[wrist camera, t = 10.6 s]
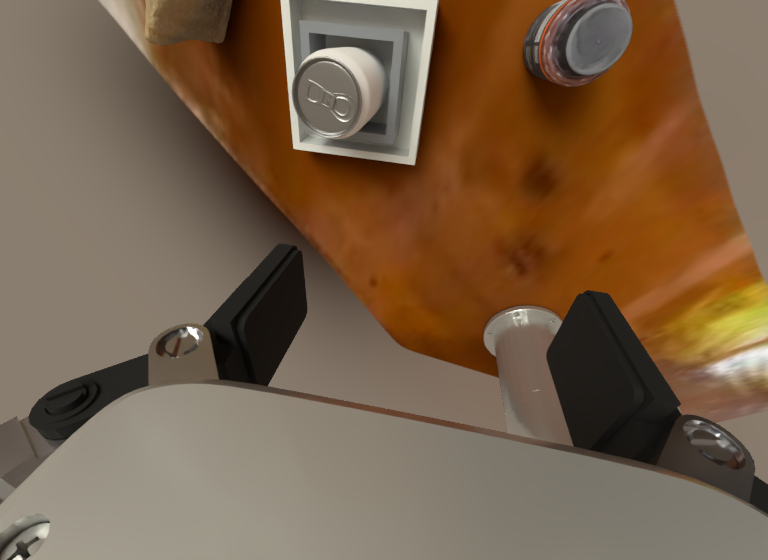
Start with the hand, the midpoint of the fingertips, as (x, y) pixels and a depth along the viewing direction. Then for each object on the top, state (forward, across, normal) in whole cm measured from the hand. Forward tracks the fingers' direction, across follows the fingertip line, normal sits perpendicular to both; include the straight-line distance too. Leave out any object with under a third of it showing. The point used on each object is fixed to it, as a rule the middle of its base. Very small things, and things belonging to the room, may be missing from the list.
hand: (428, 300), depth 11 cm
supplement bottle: (+32, -9, -9) cm, 34 cm away
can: (+31, +10, -4) cm, 32 cm away
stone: (+31, +25, -10) cm, 41 cm away
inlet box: (+31, +10, -4) cm, 33 cm away
